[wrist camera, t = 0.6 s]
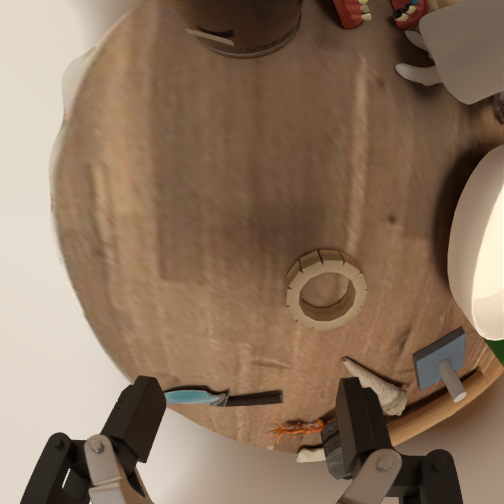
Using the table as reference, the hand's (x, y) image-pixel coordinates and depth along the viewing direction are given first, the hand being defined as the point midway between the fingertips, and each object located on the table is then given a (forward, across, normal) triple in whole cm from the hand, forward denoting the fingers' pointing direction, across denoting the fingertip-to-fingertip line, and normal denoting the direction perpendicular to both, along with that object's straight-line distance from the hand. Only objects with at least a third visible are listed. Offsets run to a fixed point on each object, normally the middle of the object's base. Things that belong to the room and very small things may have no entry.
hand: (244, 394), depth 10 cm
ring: (+16, -6, +4) cm, 18 cm away
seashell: (+16, -14, +20) cm, 29 cm away
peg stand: (+16, -24, +18) cm, 34 cm away
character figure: (+16, -17, -18) cm, 29 cm away
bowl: (+16, -26, -2) cm, 31 cm away
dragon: (+16, -4, +29) cm, 34 cm away
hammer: (+12, -8, +35) cm, 38 cm away
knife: (+16, +10, +21) cm, 29 cm away
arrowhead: (+15, -3, +41) cm, 44 cm away
